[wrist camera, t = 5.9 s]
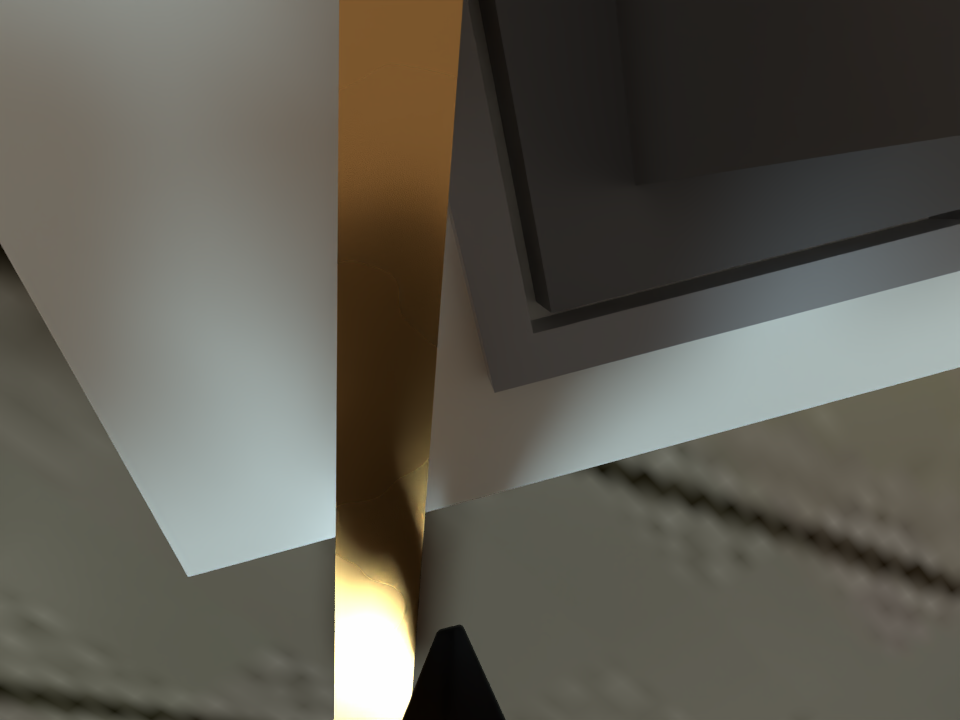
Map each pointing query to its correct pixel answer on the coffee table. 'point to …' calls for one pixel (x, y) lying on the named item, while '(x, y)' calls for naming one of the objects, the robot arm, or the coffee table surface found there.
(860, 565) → the coffee table surface
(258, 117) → the power strip
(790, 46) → the plug
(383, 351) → the golden thin rod
